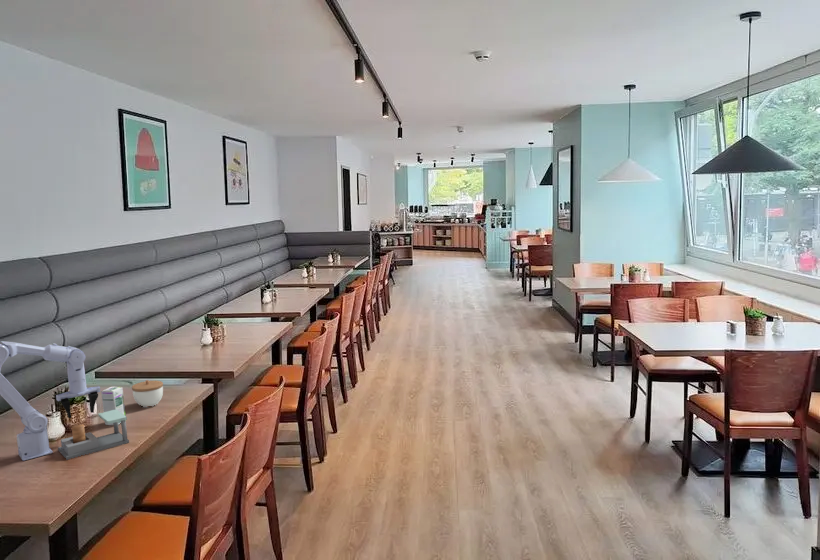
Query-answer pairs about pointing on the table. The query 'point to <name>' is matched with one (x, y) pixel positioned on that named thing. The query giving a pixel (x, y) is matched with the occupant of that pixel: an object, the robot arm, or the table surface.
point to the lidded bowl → (148, 392)
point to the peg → (78, 433)
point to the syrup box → (113, 400)
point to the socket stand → (94, 442)
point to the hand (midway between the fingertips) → (80, 414)
